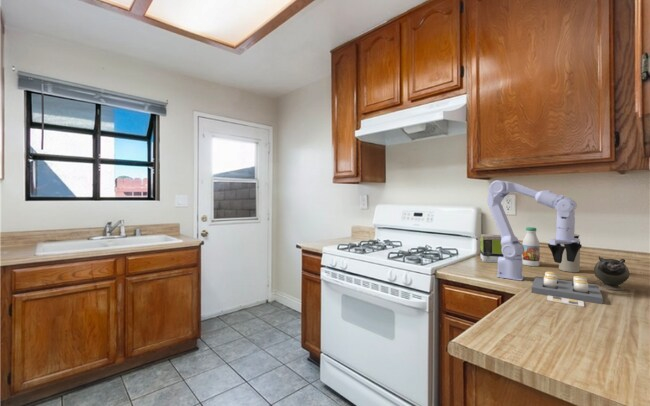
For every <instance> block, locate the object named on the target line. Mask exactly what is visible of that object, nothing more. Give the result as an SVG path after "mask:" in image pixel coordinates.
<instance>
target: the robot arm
mask: <svg viewBox="0 0 650 406" xmlns="http://www.w3.org/2000/svg"><path fill="white" fill-rule="evenodd" d="M487 190H488V193H487V200H486V201H487V205H488V207H489V210H490V212H491V214H492V215H491V216H492V217H493V220H494V223H495V225H496V228H497V231H498V232H499V235H500V236H501V238H502V239H501V245H502V254H503V255H504V257H498V263H497V270H496V271H497V274H496V277H497V278H502V279H508V280H514V281H523V280H524V278H525V276H524V275H523V264H522V254H523V253H524V247H523V245H522V243H521V242H520V240H519V238H518V237H516V236H515V233H514V232H513V229H512V226H511V224H510V222H509V218H508V217H507V214H506V212H505V209H504V207H503V205H502V202H503V200H504V198H506V196H508V195H509V194H510V193H516V194H520V195H523V196H526V197H530V198H531V199H532V198H533V199H535V202H536V203H538V204H540V205H543V206H545V207H548V208H551V209H555V211H556V223H555V224H556V226H555V228H556V229H555V238H552V239H549V243H547V247H548V249H549V250H550V251H551V254H552V255H551V256H552V258H553V262H554V263H557V264H559V263H561V262H562V255H563V252H564V250H565V249H566V255H567V261H570V262H574V260H575V257H576V255H577V252H578V251H579V249H580V250H581V248H582V247H583V246H582V244H581V240H580V238H578V239H577V238H574V234H575V230H576V229H575V226H576V225H575V224H576V217H575V216H576V215H575V213H576V212H575V210H576V209H577V208H578V207H577V202H576V201H575V199H573V198H571V197H565V195H563V194H560V195H559V194H556V193H554V192H552V190H549V189H546V190H545V189H544V190H540V191H538V190H535V189H533V188H530V187H527V186H525V185H522V184H519V183H517V182H513V181H512V182H511V181H508V180H497V179H495V180H494V181H492V182H491V183H490V185H489V186H488V188H487ZM564 242H565V243H564ZM579 242H580V244H579ZM560 244H564V246H561V245H560Z"/></svg>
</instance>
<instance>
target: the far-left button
mask: <svg viewBox="0 0 650 406" xmlns="http://www.w3.org/2000/svg"><path fill="white" fill-rule="evenodd" d="M544 276H552V277H556V279H558V272H555V271H545V272H544Z"/></svg>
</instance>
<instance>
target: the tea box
mask: <svg viewBox="0 0 650 406" xmlns="http://www.w3.org/2000/svg"><path fill="white" fill-rule="evenodd" d="M479 239H480V243H479V244H480V246H479V247H480V254H479V255H480V256H479V257H480V260H481V259H482V260H481V261H482V262H483V263H494V264H495V263H496V264H498V257H504V255H503V254H502V245H501V239H502V238H501V236H500V234H484V233H483V234H482V233H481V234H480V237H479Z"/></svg>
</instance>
